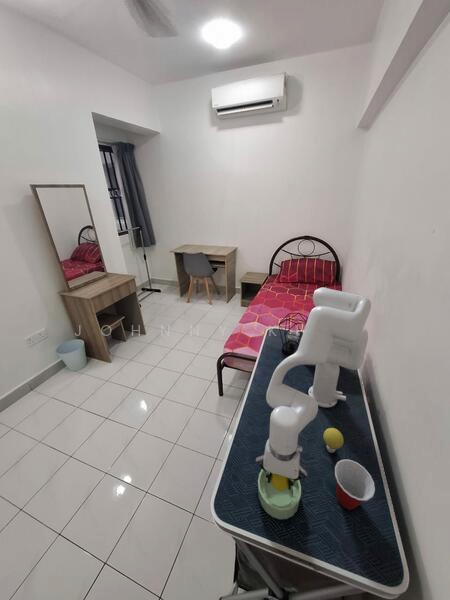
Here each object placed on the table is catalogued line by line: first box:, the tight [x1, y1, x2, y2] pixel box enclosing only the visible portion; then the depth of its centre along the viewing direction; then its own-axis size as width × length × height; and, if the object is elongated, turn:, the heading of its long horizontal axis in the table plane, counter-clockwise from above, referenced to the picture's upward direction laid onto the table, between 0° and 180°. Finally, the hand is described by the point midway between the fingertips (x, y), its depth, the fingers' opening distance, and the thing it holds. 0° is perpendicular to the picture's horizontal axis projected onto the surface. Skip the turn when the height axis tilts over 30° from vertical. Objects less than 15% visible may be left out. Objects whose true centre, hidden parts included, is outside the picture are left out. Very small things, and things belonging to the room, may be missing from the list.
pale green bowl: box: [257, 468, 302, 520], centre depth 76 cm, size 13×13×6 cm
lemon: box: [271, 473, 289, 491], centre depth 74 cm, size 6×6×8 cm
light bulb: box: [322, 427, 345, 454], centre depth 87 cm, size 7×7×10 cm
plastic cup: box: [334, 459, 376, 510], centre depth 73 cm, size 11×11×12 cm
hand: (279, 480), depth 74 cm, fingers closed on lemon, 5 cm apart
